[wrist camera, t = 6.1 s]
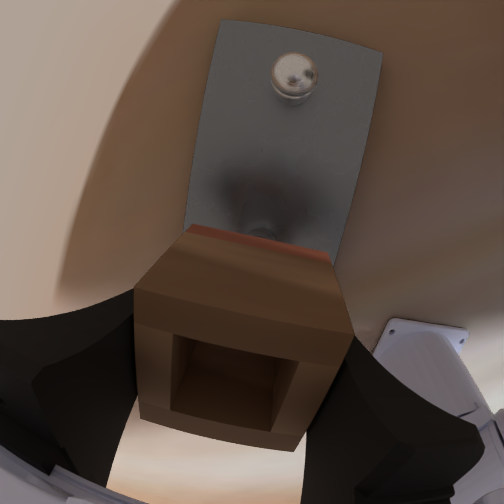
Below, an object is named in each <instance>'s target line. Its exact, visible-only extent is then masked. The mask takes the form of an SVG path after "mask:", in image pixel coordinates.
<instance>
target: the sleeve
mask: <svg viewBox="0 0 504 504" xmlns="http://www.w3.org/2000/svg"><path fill="white" fill-rule="evenodd" d="M354 335H355V334H354V330H353V327H352V324H351V321H350V317H349V314H348V311H347V308H346V305H345V302H344V299H343V296H342V293H341V290H340V287H339V284H338V281H337V278H336V275H335V272H334V269H333V266H332V263H331V260H330V257H329V255H328V252H323V251H319V250H314V249H310V248H305V247H301V246H296V245H292V244H287V243H282V242H278V241H273V240H269V239H264V238H259V237H255V236H250V235H245V234H240V233H236V232H231V231H226V230H222V229H217V228H212V227H207V226H202V225H198V224H192V225H191V226H190V227H189V228H188V229H187V230H186V231H185V232H184V233H183V234H182V235H181V236H180V237H179V238H178V239H177V240H176V242H175V243H174V244H173V245H172V246H171V247H170V248H169V249H168V250H167V251H166V252H165V253H164V254H163V255H162V256H161V258H160V259H159V260H158V261H157V262H156V263H155V264H154V265H153V266H152V267H151V268H150V269H149V271H148V272H147V273H146V274H145V275H144V276H143V277H142V278H141V279H140V281H139V282H138V283H137V284H136V285H135V286H134V340H135V361H136V377H137V389H138V401H139V411H140V419H143V420H146V421H149V422H153V423H156V424H159V425H162V426H166V427H169V428H173V429H176V430H180V431H183V432H187V433H191V434H195V435H199V436H203V437H208V438H212V439H216V440H221V441H226V442H231V443H236V444H241V445H247V446H253V447H259V448H266V449H273V450H280V451H289V452H294V451H295V449H296V447H297V446H298V444H299V442H300V441H301V439H302V437H303V435H304V434H305V432H306V430H307V429H308V427H309V425H310V423H311V421H312V420H313V418H314V416H315V414H316V412H317V411H318V409H319V407H320V405H321V403H322V401H323V399H324V398H325V396H326V394H327V392H328V390H329V388H330V386H331V384H332V382H333V380H334V378H335V376H336V374H337V372H338V370H339V368H340V366H341V364H342V362H343V359H344V357H345V355H346V353H347V351H348V349H349V346H350V344H351V342H352V340H353V338H354Z"/></svg>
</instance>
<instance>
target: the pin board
mask: <svg viewBox="0 0 504 504" xmlns="http://www.w3.org/2000/svg"><path fill="white" fill-rule="evenodd" d="M382 57H383V53H382V52H379V51H376V50H373V49H370V48H367V47H364V46H361V45H358V44H354V43H351V42H347V41H344V40H340V39H336V38H333V37H329V36H325V35H320V34H316V33H312V32H307V31H302V30H297V29H292V28H287V27H281V26H275V25H269V24H262V23H254V22H246V21H236V20H225V19H221V22H220V26H219V30H218V34H217V38H216V43H215V47H214V51H213V56H212V60H211V65H210V70H209V74H208V79H207V84H206V89H205V94H204V99H203V104H202V110H201V115H200V121H199V126H198V132H197V138H196V144H195V150H194V156H193V163H192V169H191V176H190V183H189V190H188V197H187V205H186V212H185V220H184V229H183V233H184V232H185V231H186V230H187V229H188V228H189V227H190V226H191V225H192V224H198V225H202V226H207V227H212V228H217V229H222V230H226V231H231V232H236V233H240V234H245V235H250V236H255V237H259V238H264V239H269V240H273V241H278V242H282V243H287V244H292V245H296V246H301V247H305V248H310V249H314V250H319V251H323V252H328V255H329V257H330V260H331V263H332V266H333V265H334V262H335V259H336V256H337V252H338V249H339V246H340V242H341V239H342V235H343V232H344V228H345V225H346V221H347V218H348V214H349V210H350V207H351V203H352V199H353V195H354V192H355V188H356V184H357V180H358V176H359V172H360V168H361V163H362V159H363V155H364V151H365V146H366V142H367V137H368V133H369V128H370V123H371V118H372V113H373V108H374V103H375V98H376V93H377V87H378V82H379V76H380V70H381V64H382Z"/></svg>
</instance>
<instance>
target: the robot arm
mask: <svg viewBox="0 0 504 504" xmlns="http://www.w3.org/2000/svg"><path fill="white" fill-rule="evenodd" d="M392 329H394V330H393V331H392V332H389V331H390V330H392ZM468 337H469V331H468V330H467V329H464V328H457V327H450V326H443V325H437V324H430V323H423V322H417V321H411V320H405V319H398V318H393V319H391V320H390V321H389V322H388V323H387V326H386V328H385V330H384V332H383V334H382V336H381V338H380V340H379V342H378V344H377V346H376V348H375V350H374V352H373V354H371V353H370V352H369V351H368V350H367V349H366V348H365V347H364V346H363V344H362V343H361V342H360V341H359V340H358V339H357V337H356V336H355V335H354V338H353V340H352V342H351V344H350V346H349V349H348V351H347V353H346V355H345V357H344V359H343V362H342V364H341V366H340V368H339V370H338V372H337V374H336V376H335V378H334V380H333V382H332V384H331V386H330V388H329V390H328V392H327V394H326V396H325V398H324V399H323V401H322V403H321V405H320V407H319V409H318V411H317V412H316V414H315V416H314V418H313V420H312V421H311V423H310V425H309V427H308V429H307V430H306V456H305V468H304V479H303V488H302V495H301V503H300V504H504V409H500V410H499V411H498V412H497V413H496V414H495V415H494V414H493V413H492V412H491V410H490V408H489V406H488V404H487V403H486V401H485V399H484V397H483V395H482V393H481V392H480V390H479V388H478V386H477V385H476V383H475V381H474V380H473V378H472V376H471V374H470V373H469V371H468V369H467V368H466V366H465V365H464V363H463V361H462V360H461V358H460V356H459V355H458V354H459V352H460V351H461V349H462V347H463V346H464V344H465V342H466V340H467V338H468ZM461 339H462V340H461ZM460 340H461V341H460ZM137 396H138V389H137V377H136V361H135V340H134V288H133V289H131V290H129V291H127V292H125V293H122V294H120V295H118V296H115V297H113V298H110V299H108V300H106V301H103V302H101V303H98V304H95V305H92V306H89V307H86V308H83V309H80V310H76V311H72V312H68V313H63V314H58V315H54V316H49V317H43V318H35V319H24V320H0V504H148V503H145V502H142V501H139V500H136V499H133V498H130V497H127V496H125V495H122V494H119V493H117V492H114V491H112V490H109V489H107V488H106V485H107V481H108V478H109V474H110V470H111V467H112V463H113V460H114V457H115V454H116V451H117V448H118V445H119V442H120V439H121V436H122V433H123V431H124V428H125V425H126V422H127V420H128V417H129V415H130V412H131V410H132V407H133V405H134V402H135V400H136V398H137Z"/></svg>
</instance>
